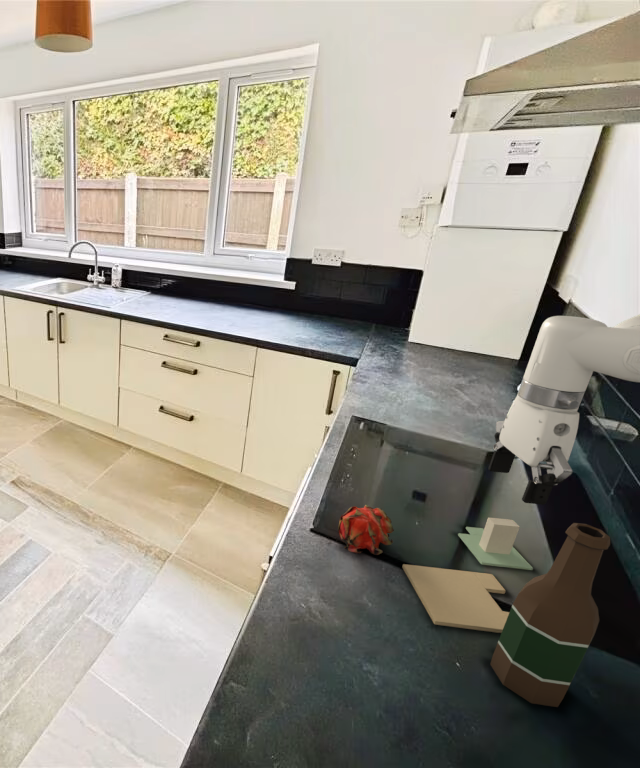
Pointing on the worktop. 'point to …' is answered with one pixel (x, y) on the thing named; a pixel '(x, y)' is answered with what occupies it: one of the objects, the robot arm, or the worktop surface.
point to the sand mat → (458, 597)
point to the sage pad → (490, 556)
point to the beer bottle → (552, 622)
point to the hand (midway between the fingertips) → (514, 486)
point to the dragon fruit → (365, 529)
